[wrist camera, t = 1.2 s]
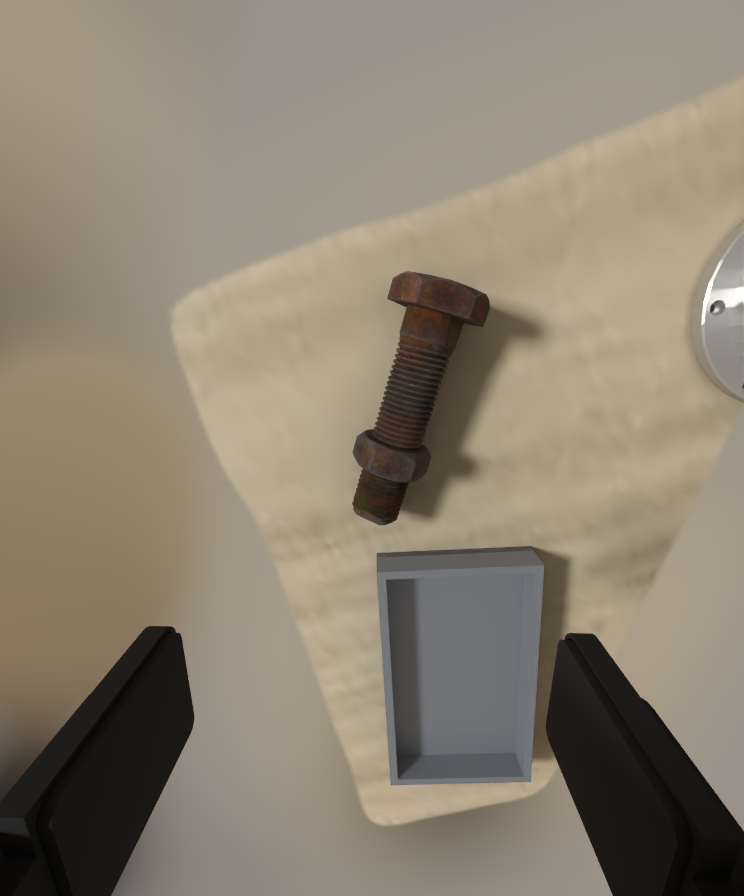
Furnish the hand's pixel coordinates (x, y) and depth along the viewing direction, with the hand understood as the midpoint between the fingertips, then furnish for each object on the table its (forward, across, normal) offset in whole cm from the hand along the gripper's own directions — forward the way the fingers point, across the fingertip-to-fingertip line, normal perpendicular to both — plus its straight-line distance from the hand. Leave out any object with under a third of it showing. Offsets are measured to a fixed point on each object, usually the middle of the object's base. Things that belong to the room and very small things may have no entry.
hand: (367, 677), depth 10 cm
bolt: (+19, -2, -4) cm, 19 cm away
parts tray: (+18, -6, +17) cm, 26 cm away
